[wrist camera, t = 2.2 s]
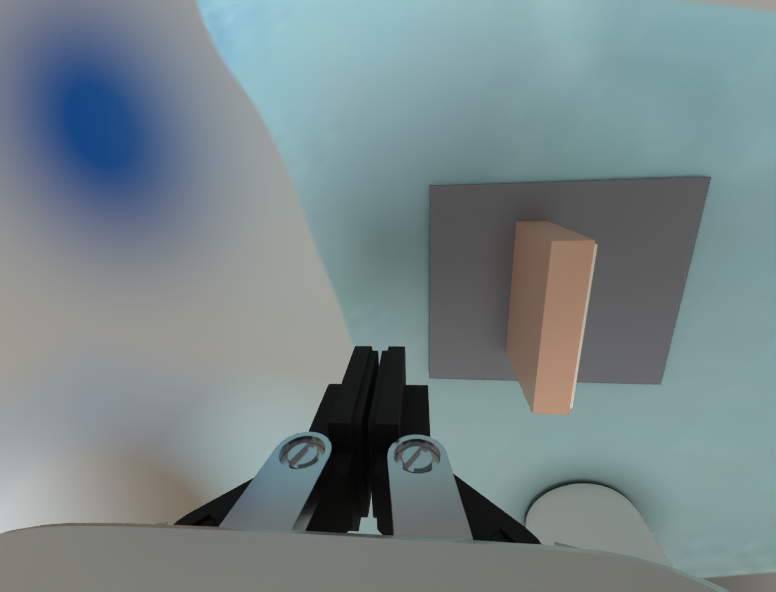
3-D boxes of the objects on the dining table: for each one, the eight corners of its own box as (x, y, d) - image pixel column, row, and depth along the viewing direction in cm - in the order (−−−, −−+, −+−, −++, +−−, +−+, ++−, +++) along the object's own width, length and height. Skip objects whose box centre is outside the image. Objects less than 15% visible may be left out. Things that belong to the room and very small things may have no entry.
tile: (550, 220, 19) (601, 240, 14) (535, 352, 22) (573, 414, 16) (516, 221, 20) (551, 241, 14) (505, 352, 22) (532, 413, 17)
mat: (705, 176, 18) (711, 176, 18) (656, 380, 22) (660, 384, 22) (429, 185, 20) (429, 185, 20) (429, 375, 24) (429, 378, 23)
